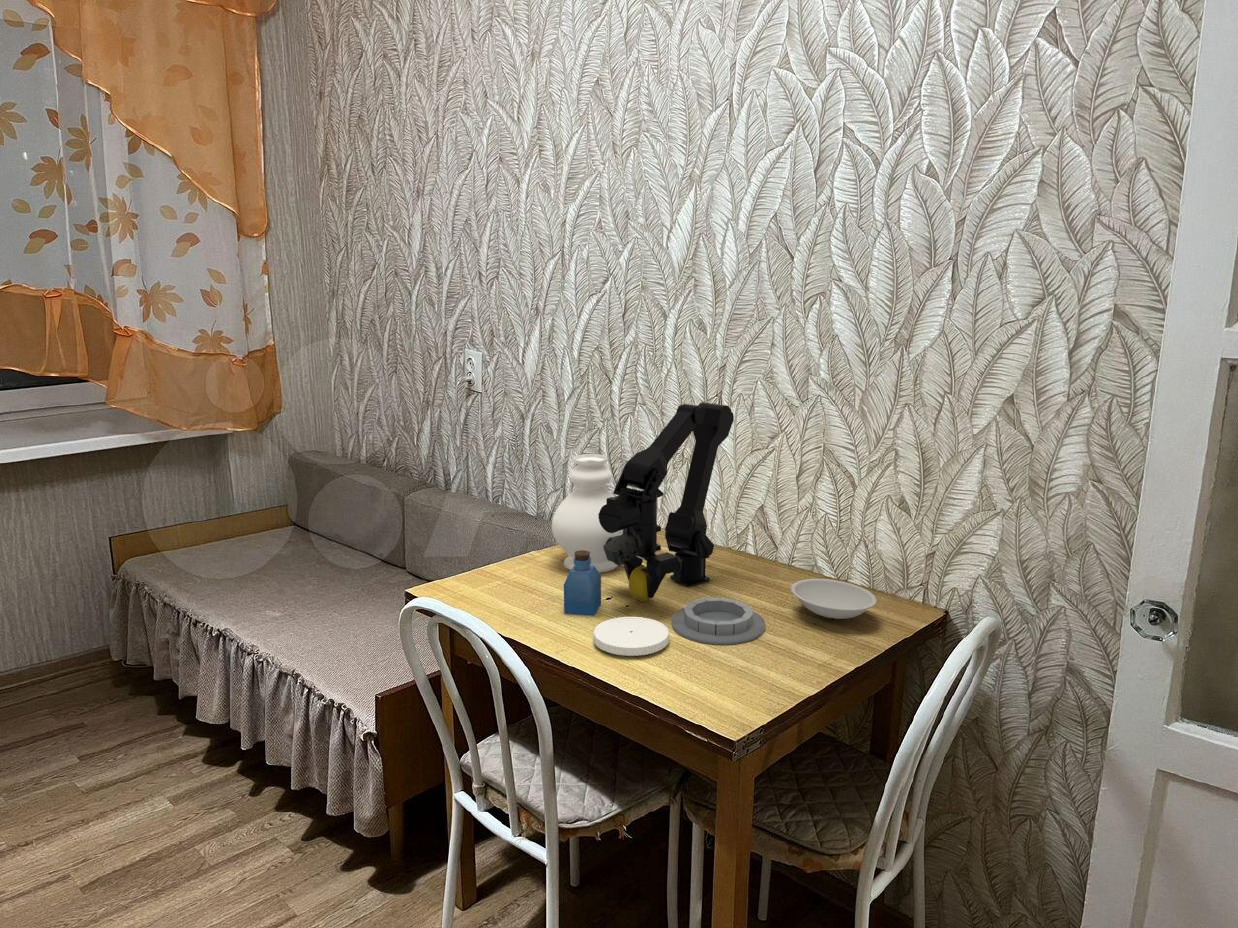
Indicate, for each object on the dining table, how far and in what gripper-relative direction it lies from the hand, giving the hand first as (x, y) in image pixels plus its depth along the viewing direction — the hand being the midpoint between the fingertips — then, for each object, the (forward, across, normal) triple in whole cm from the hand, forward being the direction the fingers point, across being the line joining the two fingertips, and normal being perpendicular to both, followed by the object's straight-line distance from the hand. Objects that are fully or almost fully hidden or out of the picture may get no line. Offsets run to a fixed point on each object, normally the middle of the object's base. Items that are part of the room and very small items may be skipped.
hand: (642, 593), depth 195 cm
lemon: (+2, 0, 0) cm, 2 cm away
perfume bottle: (+2, -4, -12) cm, 13 cm away
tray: (+2, +18, +5) cm, 19 cm away
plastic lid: (+2, +15, -13) cm, 20 cm away
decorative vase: (+2, -25, +4) cm, 25 cm away
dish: (+2, +28, +26) cm, 38 cm away
